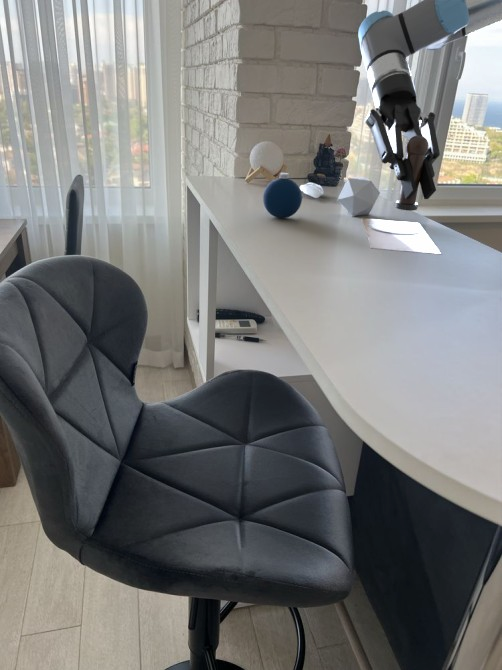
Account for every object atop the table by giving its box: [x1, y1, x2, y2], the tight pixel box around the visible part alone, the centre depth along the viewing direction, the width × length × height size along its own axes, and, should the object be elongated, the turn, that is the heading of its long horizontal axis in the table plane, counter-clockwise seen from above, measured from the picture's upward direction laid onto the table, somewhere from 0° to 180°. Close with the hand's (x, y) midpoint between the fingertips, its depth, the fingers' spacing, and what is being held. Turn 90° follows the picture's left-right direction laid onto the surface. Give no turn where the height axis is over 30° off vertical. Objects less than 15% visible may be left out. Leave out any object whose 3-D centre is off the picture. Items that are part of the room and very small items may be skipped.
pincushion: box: [299, 173, 325, 199], centre depth 134 cm, size 12×6×6 cm, turn 6°
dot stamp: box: [394, 135, 429, 212], centre depth 90 cm, size 4×4×12 cm
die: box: [336, 176, 381, 217], centre depth 116 cm, size 8×9×10 cm
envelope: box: [360, 217, 443, 255], centre depth 101 cm, size 13×24×1 cm, turn 173°
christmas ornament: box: [262, 172, 303, 219], centre depth 109 cm, size 8×8×10 cm
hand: (420, 194), depth 88 cm, fingers closed on dot stamp, 3 cm apart
